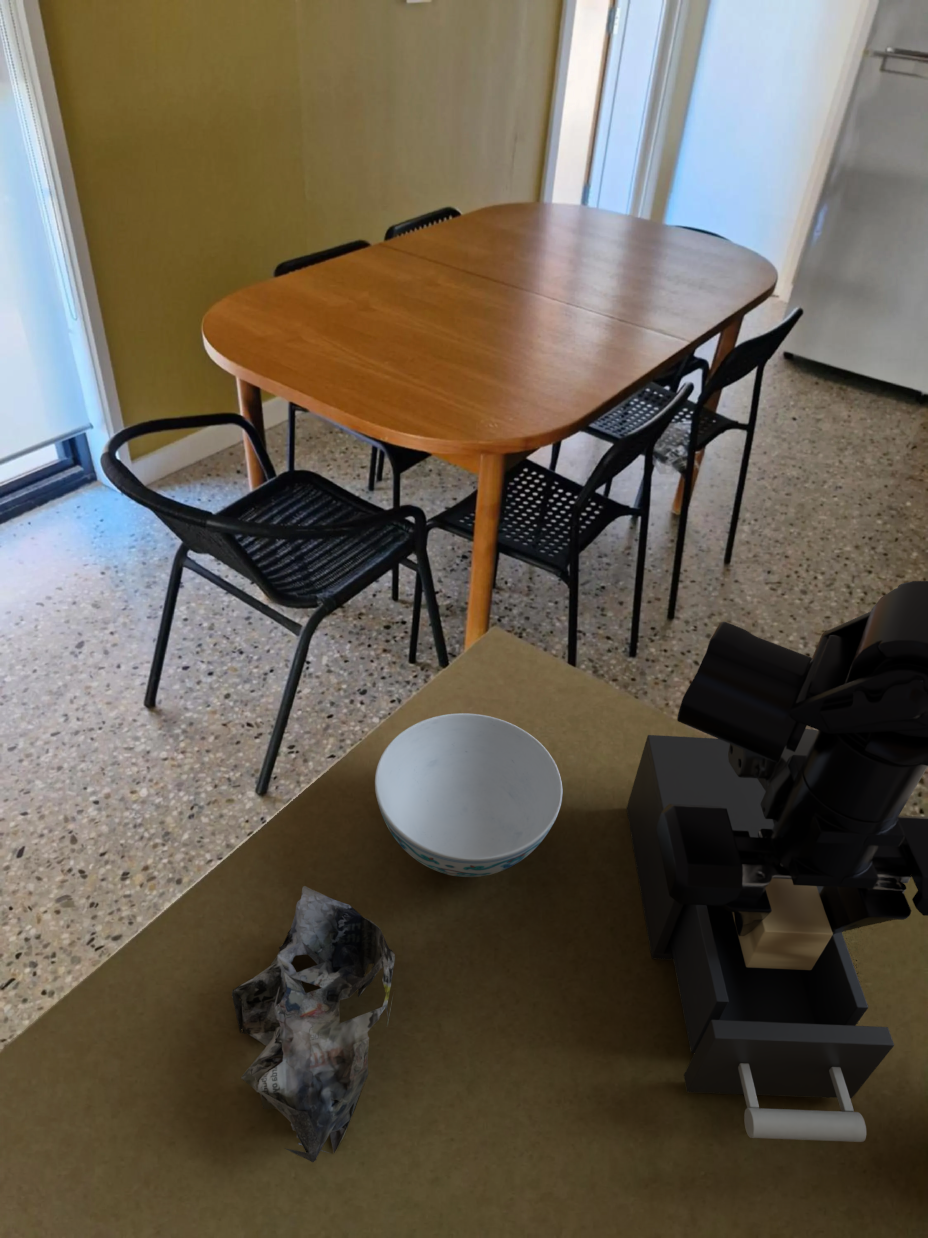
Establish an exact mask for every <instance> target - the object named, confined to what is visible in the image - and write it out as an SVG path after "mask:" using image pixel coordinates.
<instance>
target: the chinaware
mask: <svg viewBox="0 0 928 1238" xmlns="http://www.w3.org/2000/svg"><path fill="white" fill-rule="evenodd" d="M374 790H375V791H374V792H375V797H376V801H377V804H378V808H379V812H380V814H381V816H382V819H383V821H384V823H385V825H386V827H387V828H388V831H389V832H390V834H391V835H392V837H393V838H394V840H395V841H396V842H397V843H398V845H399V846H400V847H401V848H402V850H404V851H405V852H406V853H407V854H408V855H409V856H410V857H412V858H413V859H414V860H415V861H417V862H418V863H420V864H422V865H423V866H425V867H427V868H429V869H431V870H433V871H435V872H438V873H441V874H444V875H448V876H453V877H461V878H477V877H479V878H480V877H485V876H490V875H494V874H497V873H500V872H503V871H505V870H507V869H509V868H512V867H513V866H515V865H517V864H518V863H520V862H522V861H523V860H524V859H525V858H527V857H528V856H529V855H530V854H531V853H532V852H534V850H536V849H537V848H538V847H539V845H540V844H541V843H542V842H543V840H544V839H545V838H546V837H547V835H548V834H549V832H550V830H551V829H552V827H553V826H554V824H555V822H556V820H557V817H558V815H559V812H560V810H561V806H562V803H563V782H562V777H561V772H560V770H559V767H558V766H557V763H556V761H555V759H554V758H553V757H552V755H551V754H550V752H549V751H548V750H547V748H546V747H545V746H544V745H543V744H542V742H540V740H538V739H537V738H536V737H534V736H533V735H531V734H530V733H529V732H528V731H527V730H524V729H523V728H521V727H519V726H517V725H515V724H514V723H511V722H508V721H506V720H503V719H500V718H498V717H494V716H490V715H485V714H479V713H467V712H466V713H465V712H463V713H462V712H461V713H448V714H447V713H446V714H441V715H436V716H433V717H429V718H426V719H423V720H420V721H419V722H417V723H414V724H412V725H410V726H409V727H407V728H406V729H404V730H403V731H401V732H399V734H397V736H395V737H394V738H393V739H392V740H391V741H390V743H388V745H387V746H386V747H385V749H384V750H383V752H382V754H381V755H380V758H379V760H378V762H377V766H376V769H375V775H374Z"/></svg>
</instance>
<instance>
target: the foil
mask: <svg viewBox="0 0 928 1238" xmlns="http://www.w3.org/2000/svg"><path fill="white" fill-rule="evenodd" d="M278 948H279V950H278V952H277V955H276V957H275V958H274V959H273V960H272V962H271V963H270V965H269V966H268V967H266V968H265V969H264V970H262V971H261V972H260V973H258V974H257V975H255V976H254V977H252V978H250V979H248V980H246V981H244V982H243V983H241V984H239V985H238V986H237V987H235V988H233V989H232V992H231V997H232V1001H233V1006H234V1007H233V1008H234V1011H235V1015H236V1020H237V1024H238V1030H239V1034H243V1035H249V1036H250V1037H252V1038H253V1039H255V1040H256V1041H258V1042H260V1043H261V1044H263V1045H264V1046H265V1048H264V1049H263V1050H262V1051H261V1052H260V1054H259V1055H257V1057H256V1058H255V1059H254V1061H253V1062H252V1063H251V1064H250V1066H249V1067H248V1068H247V1069H246V1070H245V1072H244V1073H243V1074H242V1075H241V1076H240V1079H241V1080H242V1081H244V1082H245V1084H247V1085H249V1086H250V1087H251V1088H252V1089H254V1091H255V1092H256V1093H259V1095H260V1100H261V1105H262V1110H272V1109H273V1110H277V1111H278V1112H279V1113H281V1115H283V1117H285V1118H286V1119H287V1120H288V1121H289V1122H290V1127H291V1129H292V1131H295V1134H296V1139H298V1140H299V1142H297V1144H298V1145H299V1146H302V1148H303V1150H304V1151H303V1150H298V1149H297V1150H296V1149H292V1148H291V1149H290V1148H285V1147H284V1148H283V1149H284V1150H287V1151H289V1152H290V1153H293V1154H295V1155H297V1156H298V1157H301V1158H303V1159H305V1160H306V1161H309V1162H310V1163H315V1161H317V1158H318V1156H319V1154H320V1152H324V1153H328V1154H335V1153H336V1152H337V1150H338V1148H339V1146H340V1144H341V1142H342V1140H343V1139H344V1137H345V1135H346V1133H347V1130H348V1127H349V1125H350V1122H351V1121H352V1117H353V1114H354V1112H355V1110H356V1107H357V1105H358V1102H359V1099H360V1097H361V1093H362V1092H363V1088H364V1086H365V1085H364V1084H365V1083H366V1082H367V1081H366V1080H367V1079H368V1076H369V1044H370V1043H369V1042H370V1037H369V1031H370V1030H371V1029H372V1028H373V1026H374V1025H376V1024H377V1022H379V1020H380V1018H381V1015H382V1014H383V1012H384V1011H385V1010H386V1015H387V1023H386V1026H388V1025H389V1022H390V1015H391V1012H392V1011H391V1010H392V1007H390V1009H388V1005H389V999H390V998H389V997H390V993H391V992H390V991H391V987H392V982H393V981H392V980H393V974H394V968H395V961H396V954H395V952H394V951H393V950H392V948H390V947H389V945H388V943H387V940H386V938H385V936H384V933H383V931H382V929H381V928H380V927H379V926H378V925H377V924H376V923H375V922H373V921H372V920H371V919H369V918H366V917H364V916H363V915H362V914H361V913H360V912H358V911H357V910H356V909H355V908H354V907H353V906H352V905H351V904H348V903H345V902H343V901H339V900H337V899H335V898H331V897H329V896H328V895H326V894H322V893H321V892H319V891H317V890H314V889H313V888H310V887H308V886H306V885H304V886H302V888H301V897H300V899H299V900H298V901H296V905H295V913H294V917H293V920H292V923H291V926H290V928H289V931H287V935H286V937H285V939H284V940H283V943H282V945H280V946H279V947H278ZM302 955H308V956H309V957H310V958H311V959H312V960H313V961H314V963H315V964H316V965H313V966H311V967H307V968H305V969H302V970H300V971H296V969H295V967H294V965H293V964H292V963H293V961H294V958H295V957H296V956H302ZM372 964H373V965H372ZM369 965H372V967H371V969H370V971H369V972H368V973H367V969H368V966H369ZM382 969H383V971H382V984H383V988H384V992H385V997H384V1001H383V1004H382V1006H380V1007H378V1008H376V1009H373V1010H370V1011H367V1012H365V1013H363V1014H360V1015H358V1016H355V1017H353V1018H349V1019H347V1020H345V1021H342V1022H340V1001H342V1000H346V999H349V998H351V997H352V996H353V995H354V994H355V993H356V992H357V997H358V998H360V996H362V993H363V992H364V991H365V990H366V989H367V987H368V986H370V985H371V984H372V982H374V979H375V978H376V976H377V975H378V973H379V972H380V971H381V970H382ZM366 973H367V974H366ZM302 982H304V983H307V984H310V985H314V986H316V987H319V988H317V989H315V990H311V991H309V992H306V990H305V988H304V985H303V983H302ZM394 993H395V992H393V995H394ZM393 999H394V997H392V999H391V1001H393ZM392 1005H393V1002H391V1004H390V1006H392ZM328 1138H330V1143H331V1147H332V1151H333V1153H332V1152H328V1151H326V1150H322V1149H323V1147H324V1145H325V1144H326V1143H327V1140H328Z"/></svg>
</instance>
